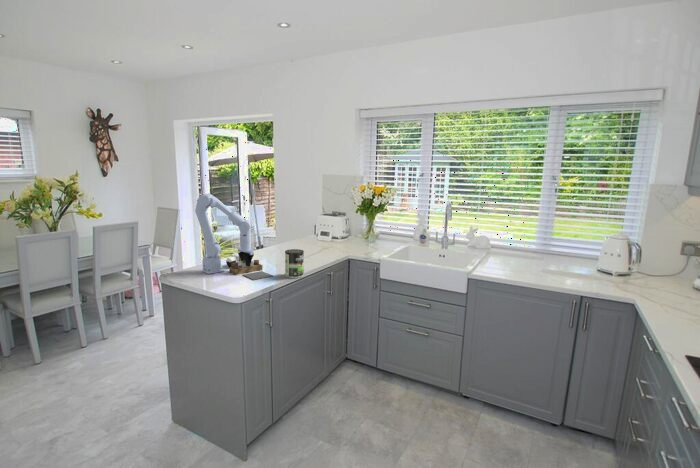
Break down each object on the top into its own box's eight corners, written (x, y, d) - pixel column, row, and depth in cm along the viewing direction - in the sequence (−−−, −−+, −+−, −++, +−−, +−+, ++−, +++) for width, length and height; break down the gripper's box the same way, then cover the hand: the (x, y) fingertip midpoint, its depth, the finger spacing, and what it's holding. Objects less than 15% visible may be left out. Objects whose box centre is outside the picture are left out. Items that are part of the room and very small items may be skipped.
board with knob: (235, 275, 206) (235, 264, 205) (229, 272, 211) (229, 262, 210) (262, 270, 217) (262, 260, 216) (256, 267, 222) (256, 257, 221)
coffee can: (307, 275, 209) (307, 250, 206) (295, 279, 200) (295, 253, 198) (293, 272, 214) (293, 248, 212) (281, 276, 205) (281, 251, 203)
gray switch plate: (253, 280, 196) (253, 279, 196) (242, 275, 205) (242, 274, 205) (273, 276, 205) (273, 275, 204) (261, 271, 213) (261, 271, 213)
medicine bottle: (249, 264, 228) (233, 269, 218) (241, 262, 232) (225, 268, 222) (247, 253, 226) (231, 258, 217) (240, 251, 230) (224, 256, 221)
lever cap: (242, 267, 209) (242, 262, 209) (238, 266, 213) (238, 260, 212) (253, 265, 214) (253, 260, 214) (249, 264, 217) (249, 258, 217)
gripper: (258, 243, 209) (258, 266, 211) (245, 239, 219) (246, 261, 221) (246, 244, 204) (247, 268, 206) (234, 240, 214) (235, 263, 216)
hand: (246, 265), depth 213 cm, fingers closed on lever cap, 4 cm apart
